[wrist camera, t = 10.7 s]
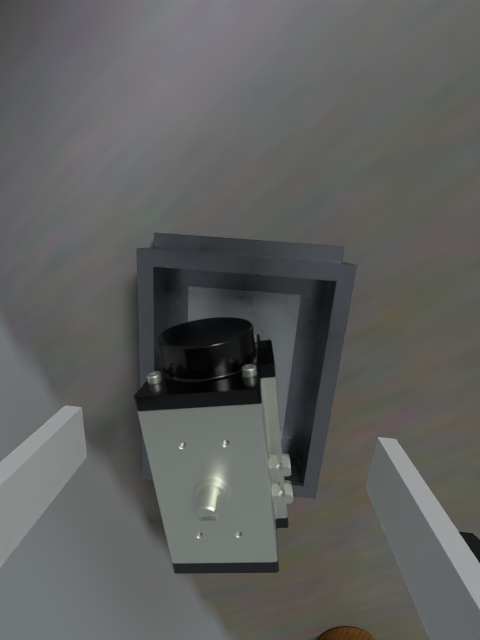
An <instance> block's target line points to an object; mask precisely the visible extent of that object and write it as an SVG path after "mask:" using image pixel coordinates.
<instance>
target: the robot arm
mask: <svg viewBox="0 0 480 640" xmlns="http://www.w3.org/2000/svg"><path fill="white" fill-rule="evenodd" d="M86 458H87V453H86V443H85V434H84V424H83V415H82V407H75V406H64V407H63V408H62V409H61V410H60V411H58V412H57V413H56V414H55V415H54V416H53V417H52V418H50V419H49V420H48V421H47V422H46V423H45V424H44V425H42V426H41V427H40V428H39V429H38V430H37V431H35V432H34V433H33V434H32V435H31V436H30V437H29V438H27V439H26V440H25V441H24V442H23V443H22V444H21V445H19V446H18V447H17V448H16V449H15V450H14V451H13V452H11V453H10V454H9V455H8V456H7V457H6V458H5V459H3V460H2V461H1V462H0V568H1V567H2V565H3V564H4V563H5V562H6V560H7V559H8V558H9V556H10V555H11V554H12V553H13V551H14V550H15V549H16V547H17V546H18V545H19V544H20V542H21V541H22V539H23V538H24V537H25V536H26V535H27V533H28V532H29V531H30V530H31V528H32V527H33V526H34V524H35V523H36V522H37V520H38V519H39V518H40V517H41V515H42V514H43V513H44V511H45V510H46V509H47V508H48V506H49V505H50V504H51V503H52V501H53V500H54V499H55V497H56V496H57V495H58V494H59V492H60V491H61V490H62V488H63V487H64V486H65V484H66V483H67V482H68V481H69V480H70V478H71V477H72V476H73V474H74V473H75V472H76V471H77V469H78V468H79V467H80V465H81V464H82V463H83V462H84V460H85V459H86ZM365 488H366V491H367V493H368V495H369V498H370V500H371V503H372V505H373V507H374V510H375V512H376V514H377V517H378V519H379V521H380V524H381V526H382V529H383V531H384V533H385V536H386V538H387V540H388V543H389V545H390V548H391V550H392V552H393V555H394V557H395V559H396V562H397V564H398V566H399V569H400V571H401V574H402V576H403V578H404V581H405V583H406V585H407V588H408V590H409V592H410V595H411V597H412V600H413V602H414V604H415V607H416V609H417V611H418V614H419V616H420V619H421V621H422V623H423V626H424V628H425V630H426V633H427V635H428V637H429V640H480V540H479V539H478V538H477V537H476V536H475V535H474V534H473V533H466V532H458V530H457V529H456V527H455V526H454V524H453V523H452V521H451V520H450V519H449V517H448V516H447V514H446V513H445V511H444V510H443V508H442V507H441V505H440V504H439V502H438V501H437V499H436V498H435V496H434V495H433V493H432V492H431V490H430V489H429V487H428V486H427V484H426V483H425V481H424V480H423V479H422V477H421V476H420V474H419V473H418V471H417V470H416V468H415V467H414V465H413V464H412V462H411V461H410V459H409V458H408V456H407V455H406V453H405V452H404V450H403V449H402V447H401V446H400V444H399V443H398V442H397V440H396V439H391V438H381V437H378V438H377V442H376V446H375V450H374V454H373V458H372V462H371V466H370V470H369V474H368V478H367V482H366V486H365Z"/></svg>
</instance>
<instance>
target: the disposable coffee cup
mask: <svg viewBox="0 0 480 640" xmlns="http://www.w3.org/2000/svg"><path fill="white" fill-rule="evenodd" d="M319 640H375V639H374V638H373V637H372V636H371V635H370V634H369V633H367V632H366V631H363V630H361V629H358V628H353V627H339V628H335V629H332V630H329V631H328V632H326V633H324V634H323V635H322V636H321V637H320V639H319Z"/></svg>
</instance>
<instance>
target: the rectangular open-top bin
mask: <svg viewBox="0 0 480 640" xmlns="http://www.w3.org/2000/svg"><path fill="white" fill-rule="evenodd" d="M344 248H345V247H342V246H328V245H315V244H301V243H288V242H274V241H261V240H247V239H233V238H220V237H206V236H193V235H179V234H165V233H154V248H137V287H138V326H139V366H140V388H141V387H142V386H143V384H144V383H145V382H146V381H147V374H149V373H150V372H153V371H155V370H156V368H157V367H158V366H159V365H160V364H161V362H160V357H159V351H158V347H157V342H156V339H157V337H158V335H159V334H160V333H162V332H163V331H165V330H166V329H168V328H171V327H173V326H176V325H179V324H182V323H185V322H189V321H194V320H199V319H206V318H216V317H234V318H241V319H245V320H248V321H250V322H251V323H252V324H253V327H254V334H255V335H256V334H259V335H260V340H272V347H273V354H274V362H275V373H276V385H277V397H278V408H279V420H280V432H281V444H282V454H289V457H290V466H291V475H290V476H284V479H285V480H289V481H291V484H292V492H293V496H297V497H306V498H315V497H316V492H317V486H318V481H319V475H320V469H321V464H322V458H323V453H324V447H325V442H326V436H327V430H328V425H329V419H330V414H331V408H332V402H333V397H334V391H335V386H336V380H337V375H338V369H339V363H340V358H341V352H342V347H343V341H344V335H345V330H346V324H347V319H348V313H349V308H350V302H351V296H352V291H353V285H354V280H355V274H356V268H357V265H354V264H350V263H345V262H342V260H343V254H344ZM141 444H142V479H143V480H152V481H153V477H152V473H151V468H150V464H149V460H148V455H147V451H146V447H145V442H144V438H143V434H142V429H141Z"/></svg>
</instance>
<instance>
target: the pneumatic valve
mask: <svg viewBox="0 0 480 640" xmlns="http://www.w3.org/2000/svg"><path fill="white" fill-rule="evenodd" d="M156 342H157V347H158V351H159V357H160V362H161V364H160V365H159V366H158V367H157V368H156V370H155V371H153V372H150V373H149V374H147V381H146V382H145V383H144V384H143V386H142V387H141V388H140V389H139V391H138V392H137V393H136V394H135V396H134V399H135V403H136V407H137V412H138V416H139V421H140V425H141V429H142V434H143V438H144V442H145V447H146V451H147V455H148V460H149V464H150V468H151V473H152V477H153V482H154V486H155V490H156V495H157V499H158V503H159V508H160V512H161V516H162V521H163V525H164V530H165V534H166V538H167V543H168V547H169V551H170V556H171V560H172V564H173V569H174V573H273V572H278V571H279V564H278V548H277V532H276V529H277V528H287V527H288V515H287V503H292V502H293V492H292V484H291V481H289V480H285V479H284V476H290V475H291V466H290V457H289V454H282V444H281V432H280V420H279V408H278V397H277V385H276V373H275V362H274V354H273V347H272V340H260V335H259V334H256V335H255V334H254V327H253V324H252V323H251V322H250V321H248V320H245V319H241V318H234V317H216V318H206V319H199V320H194V321H189V322H185V323H182V324H179V325H176V326H173V327H171V328H168V329H166V330H165V331H163V332H162V333H160V334H159V335H158V337H157V339H156Z"/></svg>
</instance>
